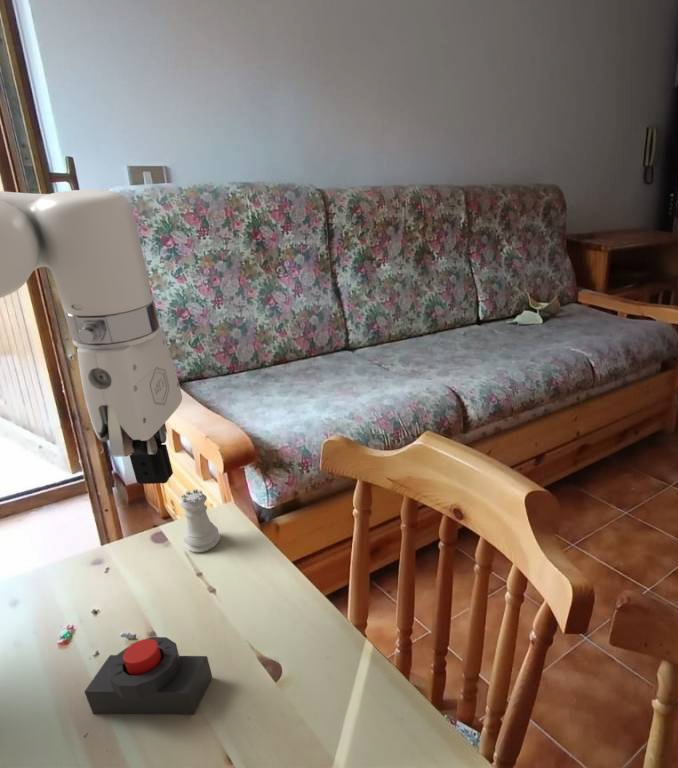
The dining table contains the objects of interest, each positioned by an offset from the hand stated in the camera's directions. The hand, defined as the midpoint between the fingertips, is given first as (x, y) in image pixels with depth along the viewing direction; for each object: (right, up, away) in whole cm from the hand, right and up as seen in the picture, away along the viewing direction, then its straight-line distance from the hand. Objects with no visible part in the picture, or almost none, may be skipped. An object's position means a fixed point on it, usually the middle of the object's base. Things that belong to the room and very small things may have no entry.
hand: (155, 479), depth 69 cm
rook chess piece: (-3, -11, +16) cm, 20 cm away
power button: (+3, -17, -7) cm, 19 cm away
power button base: (+3, -21, -5) cm, 22 cm away
